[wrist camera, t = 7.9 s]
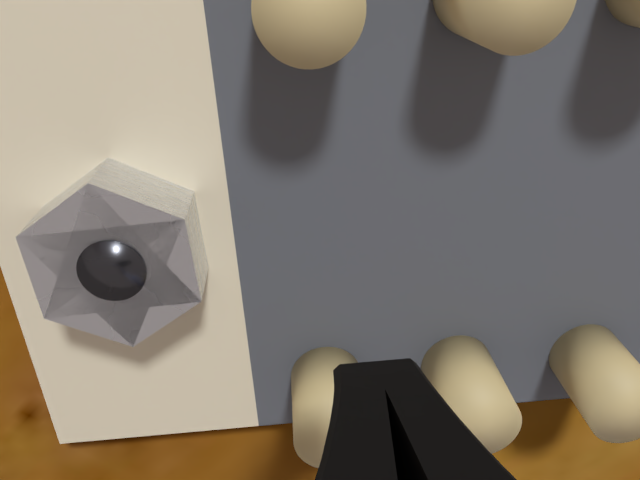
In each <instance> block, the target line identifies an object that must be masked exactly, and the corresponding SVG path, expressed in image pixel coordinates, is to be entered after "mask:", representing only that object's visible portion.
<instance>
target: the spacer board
mask: <svg viewBox="0 0 640 480" xmlns="http://www.w3.org/2000/svg"><path fill="white" fill-rule="evenodd" d="M107 158H111V159H113V160H116V161H119V162H121V163H124V164H126V165H129V166H131V167H134V168H136V169H139V170H141V171H144V172H147V173H149V174H152V175H154V176H157V177H159V178H162V179H164V180H167V181H169V182H172V183H175V184H177V185H180V186H182V187H185V188H187V189H190V190H192V191H194V193H195V198H196V203H197V208H198V214H199V219H200V224H201V229H202V235H203V240H204V245H205V250H206V255H207V261H208V266H209V268H208V273H207V277H206V282H205V287H204V292H203V297H202V302H200V303H199V304H197V305H196V306H194V307H193V308H191V309H190V310H188V311H187V312H185V313H184V314H182V315H181V316H179V317H178V318H176V319H175V320H173V321H172V322H170V323H169V324H167V325H166V326H164V327H162V328H161V329H159V330H158V331H156V332H155V333H153V334H152V335H150V336H149V337H147V338H146V339H144V340H143V341H141V342H140V343H138V344H137V345H135V346H134V347H132V346H129V345H125V344H122V343H119V342H116V341H113V340H110V339H106V338H103V337H100V336H97V335H94V334H91V333H88V332H84V331H81V330H78V329H75V328H72V327H69V326H65V325H62V324H59V323H56V322H53V321H50V320H47V319H44V317H43V315H42V312H41V309H40V306H39V303H38V300H37V297H36V294H35V292H34V289H33V286H32V283H31V280H30V277H29V274H28V272H27V269H26V266H25V263H24V260H23V257H22V254H21V252H20V249H19V246H18V243H17V240H16V236H17V235H18V234H19V233H20V232H21V231H22V230H23V228H24V227H25V226H26V225H27V224H28V223H29V222H30V221H31V220H32V218H33V217H34V216H35V215H36V214H37V213H38V212H39V211H40V210H41V208H42V207H43V206H45V205H46V204H47V203H49V202H50V201H51V200H53V199H54V198H55V197H57V196H58V195H59V194H61V193H62V192H63V191H65V190H66V189H67V188H68V187H70V186H71V185H72V184H74V183H75V182H76V181H78V180H79V179H80V178H82V177H83V176H84V175H86V174H87V173H88V172H90V171H91V170H92V169H94V168H95V167H96V166H98V165H99V164H100V163H102V162H103V161H104V160H106V159H107ZM0 266H1V269H2V272H3V275H4V278H5V281H6V284H7V287H8V290H9V293H10V296H11V299H12V302H13V305H14V308H15V311H16V314H17V317H18V320H19V323H20V326H21V329H22V332H23V335H24V338H25V341H26V344H27V347H28V350H29V353H30V356H31V359H32V362H33V365H34V368H35V371H36V374H37V377H38V380H39V383H40V386H41V389H42V392H43V395H44V398H45V401H46V404H47V407H48V410H49V413H50V416H51V419H52V422H53V425H54V428H55V431H56V434H57V437H58V440H59V443H60V444H63V443H74V442H85V441H97V440H108V439H119V438H130V437H141V436H152V435H163V434H174V433H186V432H197V431H208V430H219V429H230V428H241V427H252V426H264V425H275V424H286V423H293V444H294V449H295V451H296V453H297V455H298V456H299V457H300V458H301V459H302V460H303V461H304V462H305V463H307V464H309V465H311V466H313V467H316V468H319V465H320V462H321V458H322V454H323V449H324V445H325V441H326V437H327V432H328V428H329V424H330V418H331V412H332V405H333V397H334V376H333V370H334V369H335V368H336V367H337V366H338V365H339V364H348V363H359V362H371V361H383V360H394V359H406V358H411V359H412V360H413V361H414V362H416V363H417V365H418V366H419V368H420V369H421V370H422V372H423V373H424V374H425V376H426V377H427V379H428V380H429V381H430V382H431V384H432V385H433V386H434V388H435V389H436V390H437V392H438V393H439V394H440V395H441V397H442V398H443V399H444V400H445V401H446V403H447V404H448V405H449V406H450V408H451V409H452V410H453V411H454V412H455V414H456V415H457V416H458V417H459V418H460V420H461V421H462V422H463V423H464V424H465V425H466V426H467V428H468V429H469V430H470V431H471V432H472V433H473V434H474V435H475V436H476V438H477V439H478V440H479V441H480V442H481V443H482V444H483V445H484V446H485V448H486V449H487V450H488V451H489V452H490V453H491V454H492V453H495V452H497V451H499V450H501V449H503V448H505V447H506V446H507V445H509V444H510V443H511V442H512V441H513V440H514V439H515V438H516V436H517V435H518V433H519V431H520V429H521V425H522V415H521V412H520V410H519V408H518V406H517V404H516V403H520V402H531V401H542V400H553V399H564V398H571V400H572V401H573V403H574V404H575V406H576V407H577V409H578V410H579V412H580V413H581V415H582V416H583V418H584V419H585V421H586V422H587V424H588V425H589V427H590V428H591V430H592V432H593V433H594V434H595V435H596V436H597V437H598V438H600V439H602V440H604V441H607V442H611V443H624V442H629V441H633V440H636V439H639V438H640V0H0Z"/></svg>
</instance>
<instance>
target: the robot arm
mask: <svg viewBox="0 0 640 480" xmlns="http://www.w3.org/2000/svg"><path fill="white" fill-rule="evenodd" d="M333 376H334V397H333V405H332V412H331V418H330V424H329V428H328V432H327V437H326V441H325V445H324V449H323V454H322V458H321V462H320V465H319V468H318V472H317V475H316V478H315V480H516V479H515V478H514V477H513V476H512V475H511V474H510V473H509V472H508V471H507V470H506V469H505V468H504V467H503V466H502V465H501V464H500V462H499V461H498V460H497V459H496V458H495V457H494V456H493V455H492V454H491V453H490V452H489V451H488V450H487V449H486V448H485V446H484V445H483V444H482V443H481V442H480V441H479V440H478V439H477V438H476V436H475V435H474V434H473V433H472V432H471V431H470V430H469V429H468V428H467V426H466V425H465V424H464V423H463V422H462V421H461V420H460V418H459V417H458V416H457V415H456V414H455V412H454V411H453V410H452V409H451V408H450V406H449V405H448V404H447V403H446V401H445V400H444V399H443V398H442V397H441V395H440V394H439V393H438V392H437V390H436V389H435V388H434V386H433V385H432V384H431V382H430V381H429V380H428V379H427V377H426V376H425V374H424V373H423V372H422V370H421V369H420V368H419V366H418V365H417V363H416V362H414V361H413V360H412V359H411V358H406V359H394V360H383V361H371V362H359V363H348V364H339V365H338V366H337V367H336V368H335V369H334V370H333Z"/></svg>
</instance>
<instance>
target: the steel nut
mask: <svg viewBox="0 0 640 480" xmlns="http://www.w3.org/2000/svg"><path fill="white" fill-rule="evenodd" d="M16 240H17V243H18V246H19V249H20V252H21V254H22V257H23V260H24V263H25V266H26V269H27V272H28V274H29V277H30V280H31V283H32V286H33V289H34V292H35V294H36V297H37V300H38V303H39V306H40V309H41V312H42V315H43V317H44V319H47V320H50V321H53V322H56V323H59V324H62V325H65V326H69V327H72V328H75V329H78V330H81V331H84V332H88V333H91V334H94V335H97V336H100V337H103V338H106V339H110V340H113V341H116V342H119V343H122V344H125V345H129V346H132V347H134V346H135V345H137V344H138V343H140V342H141V341H143V340H144V339H146V338H147V337H149V336H150V335H152V334H153V333H155V332H156V331H158V330H159V329H161V328H162V327H164V326H166V325H167V324H169V323H170V322H172V321H173V320H175V319H176V318H178V317H179V316H181V315H182V314H184V313H185V312H187V311H188V310H190V309H191V308H193V307H194V306H196V305H197V304H199V303H200V302H202V297H203V292H204V287H205V282H206V277H207V273H208V268H209V266H208V261H207V255H206V250H205V245H204V240H203V235H202V229H201V224H200V219H199V214H198V208H197V203H196V198H195V193H194V191H192V190H190V189H187V188H185V187H182V186H180V185H177V184H175V183H172V182H169V181H167V180H164V179H162V178H159V177H157V176H154V175H152V174H149V173H147V172H144V171H141V170H139V169H136V168H134V167H131V166H129V165H126V164H124V163H121V162H119V161H116V160H113V159H111V158H107V159H106V160H104V161H103V162H102V163H100V164H99V165H98V166H96V167H95V168H94V169H92V170H91V171H90V172H88V173H87V174H86V175H84V176H83V177H82V178H80V179H79V180H78V181H76V182H75V183H74V184H72V185H71V186H70V187H68V188H67V189H66V190H65V191H63V192H62V193H61V194H59V195H58V196H57V197H55V198H54V199H53V200H51V201H50V202H49V203H47V204H46V205H45V206H43V207H42V208H41V210H40V211H39V212H38V213H37V214H36V215H35V216H34V217H33V218H32V220H31V221H30V222H29V223H28V224H27V225H26V226H25V227H24V228H23V230H22V231H21V232H20V233H19V234H18V235H17V236H16Z"/></svg>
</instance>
